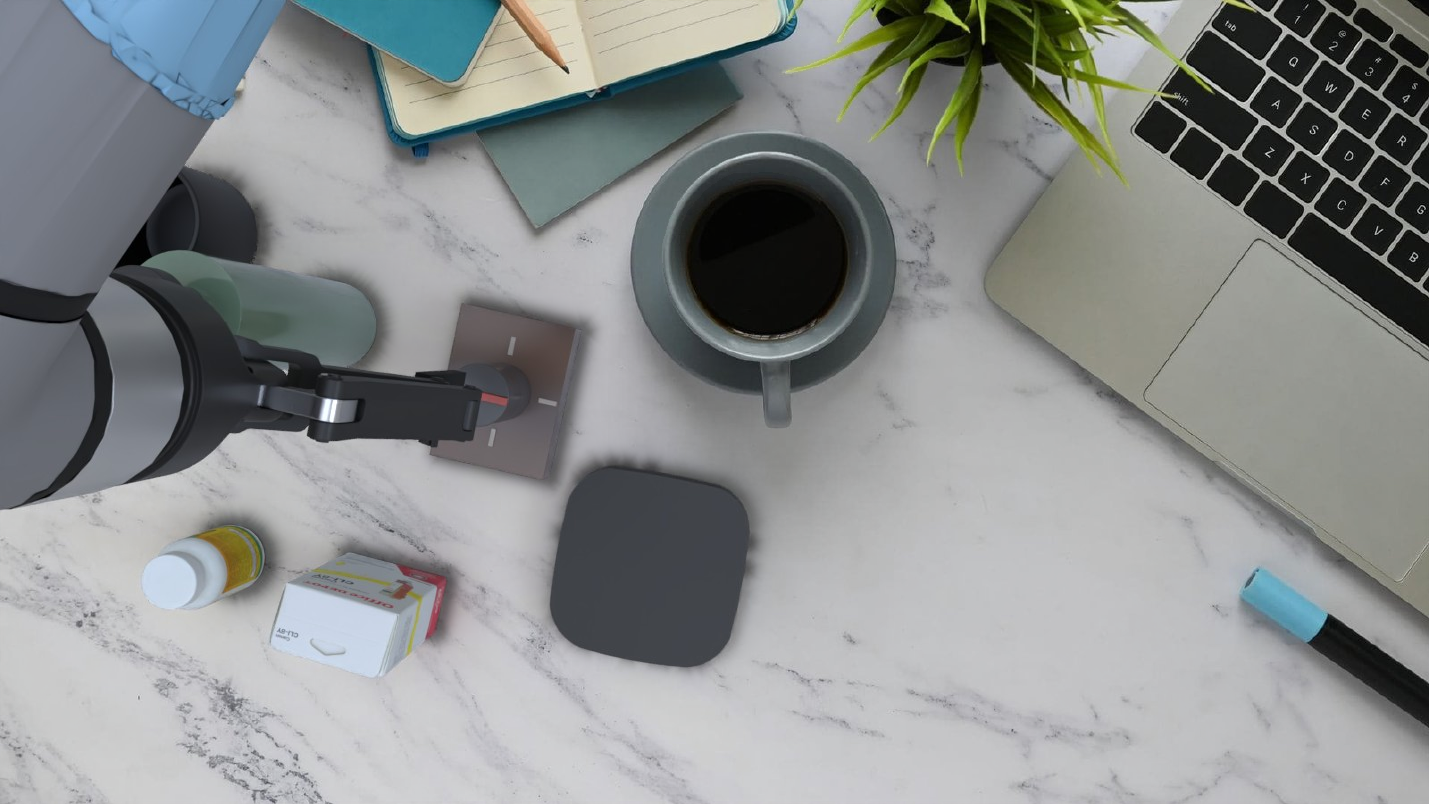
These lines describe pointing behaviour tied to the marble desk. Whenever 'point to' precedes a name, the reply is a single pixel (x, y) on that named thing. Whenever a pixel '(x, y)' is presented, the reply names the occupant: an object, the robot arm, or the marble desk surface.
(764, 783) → the marble desk surface
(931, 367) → the marble desk surface
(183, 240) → the mug
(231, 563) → the supplement bottle
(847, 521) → the marble desk surface
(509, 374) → the dial
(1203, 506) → the marble desk surface
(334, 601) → the ink box
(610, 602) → the media streaming box
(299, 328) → the lotion bottle
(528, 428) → the dial panel
